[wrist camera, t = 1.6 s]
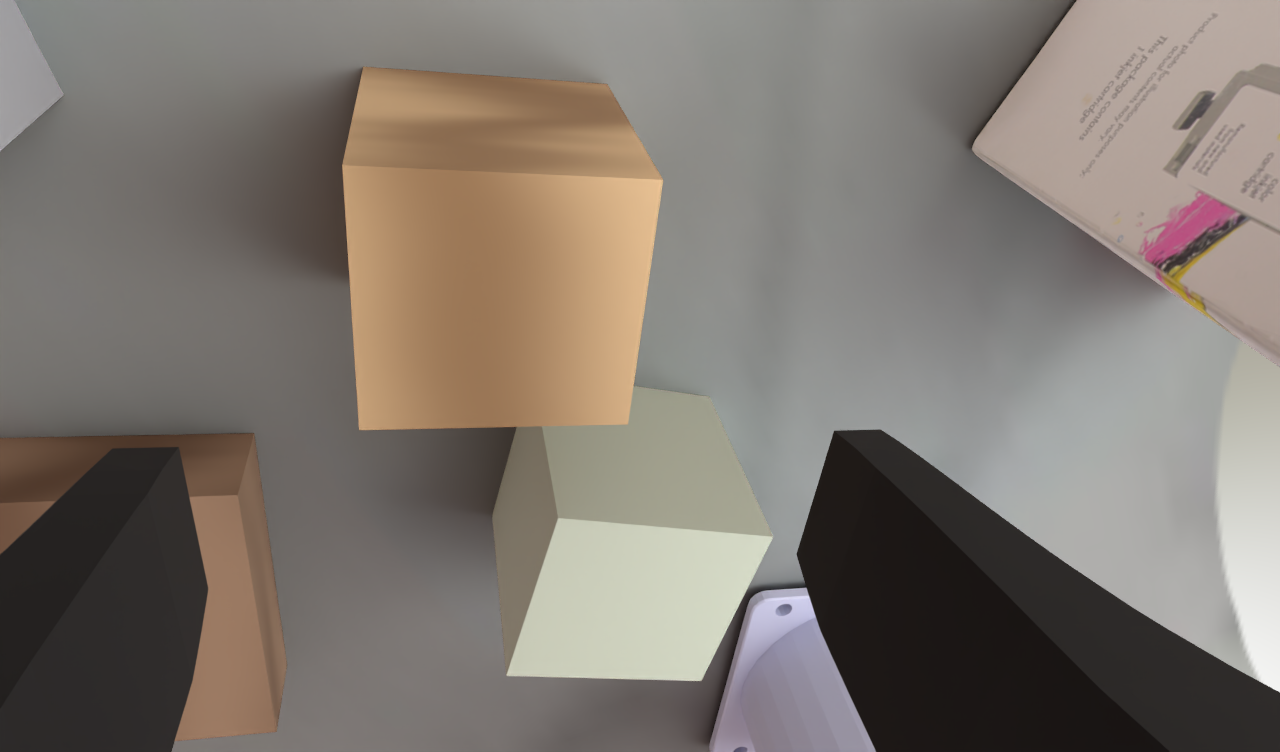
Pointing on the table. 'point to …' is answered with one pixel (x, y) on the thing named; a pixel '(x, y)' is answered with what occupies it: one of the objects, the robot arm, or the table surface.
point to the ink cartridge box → (1161, 147)
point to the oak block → (495, 251)
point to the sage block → (624, 543)
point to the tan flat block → (231, 552)
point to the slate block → (21, 75)
